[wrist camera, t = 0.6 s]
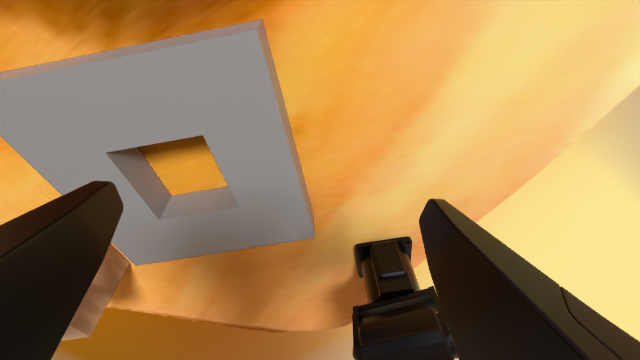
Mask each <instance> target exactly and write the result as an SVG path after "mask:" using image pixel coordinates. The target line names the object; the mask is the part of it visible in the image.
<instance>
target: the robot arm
mask: <svg viewBox="0 0 640 360" xmlns="http://www.w3.org/2000/svg"><path fill="white" fill-rule="evenodd" d="M122 213H123V202H122V200H121V197H120V195H119V193H118V191H117V188H116V186H115V184H114V183H113V182H110V181H92V182H90V183H88V184H86V185H84V186H81V187H79V188H77V189H75V190H73V191H71V192H69V193H67V194H65V195H63V196H61V197H58V198H56V199H54V200H52V201H50V202H48V203H46V204H44V205H42V206H40V207H38V208H35V209H33V210H31V211H29V212H27V213H25V214H23V215H21V216H19V217H17V218H15V219H12V220H10V221H8V222H6V223H4V224H2V225H0V360H51V358H52V356H53V355H54V353H55V351H56V349H57V347H58V345H59V343H60V341H61V340H62V338H63V336H64V334H65V332H66V330H67V328H68V326H69V325H70V323H71V321H72V319H73V317H74V315H75V313H76V312H77V310H78V308H79V306H80V304H81V302H82V300H83V298H84V297H85V295H86V293H87V291H88V289H89V287H90V285H91V283H92V282H93V280H94V278H95V276H96V274H97V272H98V270H99V268H100V266H101V264H102V262H103V260H104V258H105V256H106V253H107V251H108V248H109V246H110V243H111V241H112V238H113V236H114V233H115V230H116V228H117V225H118V223H119V220H120V218H121V215H122ZM419 225H420V230H421V234H422V239H423V244H424V248H425V253H426V258H427V262H428V266H429V270H430V273H431V277H432V280H433V283H434V285H435V289H436V291H435V289H434V286H431V287H429V288H427V289H424V290H420V287H419V285H418V282H417V279H416V276H415V274H414V271H413V268H412V265H411V249H412V240H411V238H410V237H403V238H396V239H390V240H383V241H377V242H370V243H363V244H358V245H356V246H355V252H356V259H357V266H358V273H359V277H363V278H364V283H365V288H366V293H367V298H368V303H369V304H365V305H361V306H358V305H357V306H353V314H352V319H353V343H354V344H353V357H354V359H355V360H454V358H459V360H640V342H639V341H638V340H636V339H635V338H633V337H632V336H630V335H629V334H628V333H626V332H625V331H623V330H622V329H620V328H619V327H617V326H616V325H614V324H613V323H611V322H610V321H608V320H607V319H606V318H604V317H603V316H601V315H600V314H598V313H597V312H596V311H594V310H593V309H591V308H590V307H589V306H587V305H586V304H585V303H583V302H582V301H580V300H579V299H578V298H576V297H575V296H573V295H572V294H571V293H569V292H568V291H567V290H566V289H564V288H563V287H560V286H559V284H557V283H556V282H555V281H553V280H552V279H551V278H549V277H548V276H547V275H545V274H544V273H542V272H541V271H540V270H538V269H537V268H536V267H534V266H533V265H532V264H530V263H529V262H528V261H526V260H525V259H524V258H522V257H521V256H520V255H518V254H517V253H516V252H514V251H513V250H511V249H510V248H509V247H507V246H506V245H505V244H503V243H502V242H501V241H499V240H498V239H497V238H495V237H494V236H492V235H491V234H490V233H488V232H487V231H486V230H484V229H483V228H482V227H480V226H479V225H478V224H476V223H475V222H474V221H472V220H471V219H470V218H468V217H467V216H466V215H464V214H463V213H461V212H460V211H459V210H457V209H456V208H455V207H453V206H452V205H451V204H449V203H448V202H447V201H445V200H443V199H429V200H428V202H427V203H426V206H425V208H424V210H423V212H422V214H421V216H420V219H419ZM436 292H437V293H436ZM437 295H438V296H437ZM436 312H437V313H436Z"/></svg>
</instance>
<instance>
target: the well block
mask: <svg viewBox="0 0 640 360" xmlns="http://www.w3.org/2000/svg"><path fill="white" fill-rule="evenodd" d="M201 135H203V137H204V139H205V141H206V143H207V145H208V147H209V149H210V151H211V153H212V155H213V157H214V159H215V161H216V163H217V165H218V167H219V169H220V171H221V173H222V174H223V176H224V178H225V180H226V182H227V184H228V186H229V187H223V188H217V189H211V190H205V191H199V192H193V193H187V194H181V195H175V196H171V195H170V193H169V192H168V190H167V189H166V187H165V186H164V185H163V183H162V182H161V180H160V179H159V177H158V176H157V175H156V173H155V172H154V170H153V169H152V167H151V166H150V165H149V163H148V162H147V160H146V159H145V157H144V156H143V154H142V153H141V152H140V150H139V149H138V147H140V146H145V145H151V144H157V143H162V142H168V141H173V140H179V139H184V138H190V137H195V136H201ZM0 136H1V137H2V138H3V139H4V140H5V141H6V142H7V143H8V144H9V145H10V146H11V147H12V148H13V149H14V150H15V151H16V152H17V153H18V154H20V155H21V156H22V157H23V158H24V159H25V160H26V161H27V162H28V163H29V164H30V165H31V166H32V167H33V168H34V169H35V170H36V171H37V172H38V173H39V174H40V175H41V176H43V177H44V178H45V179H46V180H47V181H48V182H49V183H50V184H51V185H52V186H53V187H54V188H55V189H56V190H57V191H58V192H59V193H60V194H61V195H62V196H63V195H65V194H67V193H69V192H71V191H73V190H75V189H77V188H79V187H81V186H84V185H86V184H88V183H90V182H92V181H110V182H113V183H114V184H115V186H116V188H117V191H118V193H119V195H120V197H121V200H122V202H123V213H122V215H121V218H120V220H119V223H118V225H117V228H116V230H115V233H114V236H113V238H112V241H111V243H113V244H114V245H115V246H116V247H117V248H118V249H119V250H120V251H121V252H122V253H123V254H124V255H125V256H126V257H127V258H128V259H129V260H130V261H131V262H132V263H133V264H134V265H136V266H137V265H144V264H150V263H157V262H163V261H170V260H176V259H183V258H189V257H196V256H202V255H208V254H215V253H221V252H228V251H234V250H241V249H247V248H254V247H260V246H267V245H273V244H280V243H286V242H293V241H299V240H306V239H312V238H315V229H314V214H313V211H312V207H311V203H310V199H309V195H308V191H307V188H306V184H305V180H304V176H303V172H302V169H301V165H300V161H299V157H298V153H297V149H296V146H295V142H294V138H293V134H292V130H291V127H290V123H289V119H288V115H287V111H286V108H285V104H284V100H283V96H282V92H281V88H280V85H279V81H278V77H277V73H276V69H275V66H274V62H273V58H272V54H271V50H270V46H269V43H268V39H267V35H266V31H265V27H264V24H263V20H257V21H252V22H247V23H242V24H237V25H232V26H227V27H222V28H217V29H212V30H207V31H202V32H197V33H193V34H188V35H183V36H178V37H173V38H168V39H163V40H158V41H153V42H148V43H143V44H138V45H133V46H128V47H123V48H119V49H114V50H109V51H104V52H99V53H94V54H89V55H84V56H79V57H74V58H69V59H64V60H59V61H54V62H49V63H44V64H40V65H35V66H30V67H25V68H20V69H15V70H10V71H5V72H0Z"/></svg>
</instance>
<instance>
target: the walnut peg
mask: <svg viewBox="0 0 640 360" xmlns="http://www.w3.org/2000/svg"><path fill="white" fill-rule="evenodd" d="M129 263H130V262H129V261H128V260H127V259H126V258H125V257H124V256H123V255H122V254H121V253H120V252H119V251H118V250H117V249H116V248H114V247H113V246H112V245H111V244H110V246H109V248H108V251H107V253H106V256H105V258H104V260H103V262H102V264H101V266H100V268H99V270H98V272H97V274H96V276H95V278H94V280H93V282H92V283H91V285H90V287H89V289H88V291H87V293H86V295H85V297H84V298H83V300H82V302H81V304H80V306H79V308H78V310H77V312H76V313H75V315H74V317H73V319H72V321H71V323H70V325H69V326H68V328H67V330H66V332H65V334H64V336H63V338H62V340H61V341H63V340H70V339H78V338H84V337H90V335H91V333H92V332H93V330H94V328H95V326H96V324H97V322H98V320H99V319H100V317H101V315H102V313H103V311H104V309H105V308H106V306H107V304H108V302H109V300H110V298H111V297H112V295H113V293H114V291H115V289H116V287H117V285H118V284H119V282H120V280H121V278H122V276H123V274H124V273H125V271H126V269H127V267H128V265H129Z"/></svg>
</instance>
